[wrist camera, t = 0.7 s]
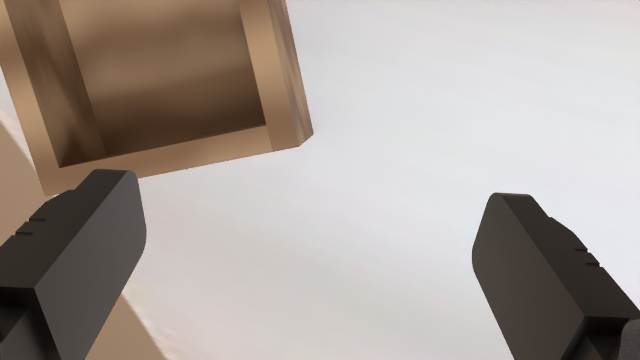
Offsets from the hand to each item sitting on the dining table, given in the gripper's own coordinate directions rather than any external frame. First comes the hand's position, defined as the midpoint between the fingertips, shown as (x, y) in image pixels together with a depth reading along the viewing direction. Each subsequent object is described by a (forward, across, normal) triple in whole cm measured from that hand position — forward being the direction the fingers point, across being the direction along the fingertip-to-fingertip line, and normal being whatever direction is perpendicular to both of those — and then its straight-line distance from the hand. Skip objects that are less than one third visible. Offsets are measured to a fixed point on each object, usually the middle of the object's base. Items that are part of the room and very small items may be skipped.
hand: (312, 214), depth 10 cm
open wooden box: (+24, +10, +2) cm, 26 cm away
